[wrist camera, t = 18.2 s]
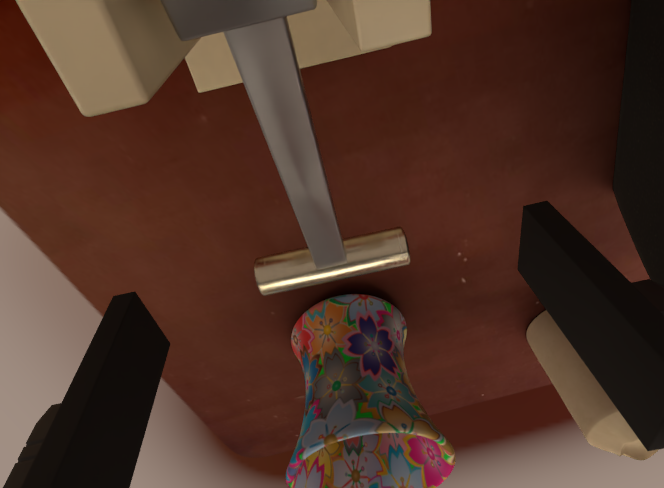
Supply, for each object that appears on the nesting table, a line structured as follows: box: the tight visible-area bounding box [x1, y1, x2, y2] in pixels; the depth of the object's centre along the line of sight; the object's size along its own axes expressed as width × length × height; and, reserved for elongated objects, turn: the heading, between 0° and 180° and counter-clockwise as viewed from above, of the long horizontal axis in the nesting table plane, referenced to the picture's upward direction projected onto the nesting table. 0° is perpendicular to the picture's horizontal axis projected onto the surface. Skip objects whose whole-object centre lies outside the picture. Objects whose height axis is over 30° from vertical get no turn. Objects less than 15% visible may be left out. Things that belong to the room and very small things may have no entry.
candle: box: [526, 310, 659, 460], centre depth 29 cm, size 6×6×10 cm
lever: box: [160, 0, 410, 296], centre depth 10 cm, size 13×6×2 cm, turn 11°
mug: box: [286, 294, 455, 488], centre depth 27 cm, size 12×9×11 cm
